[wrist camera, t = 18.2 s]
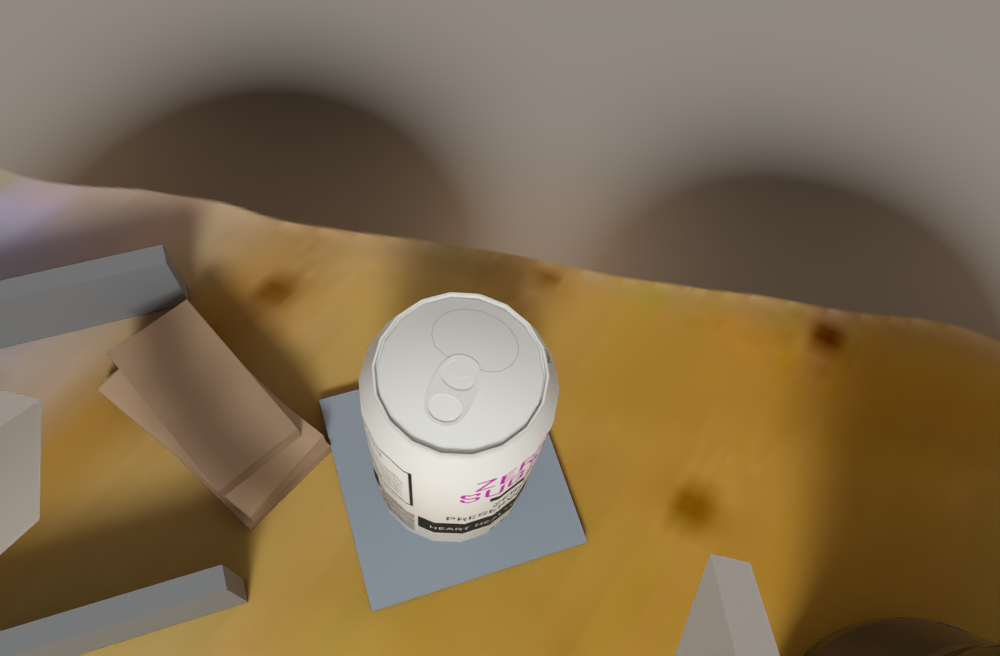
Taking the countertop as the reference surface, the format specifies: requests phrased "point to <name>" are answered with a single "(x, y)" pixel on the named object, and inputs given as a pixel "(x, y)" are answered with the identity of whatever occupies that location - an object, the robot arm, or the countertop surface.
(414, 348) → the supplement can
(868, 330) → the countertop surface
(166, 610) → the grey three-walled tray
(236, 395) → the walnut offcut stack
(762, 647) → the robot arm
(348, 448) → the slate mat
